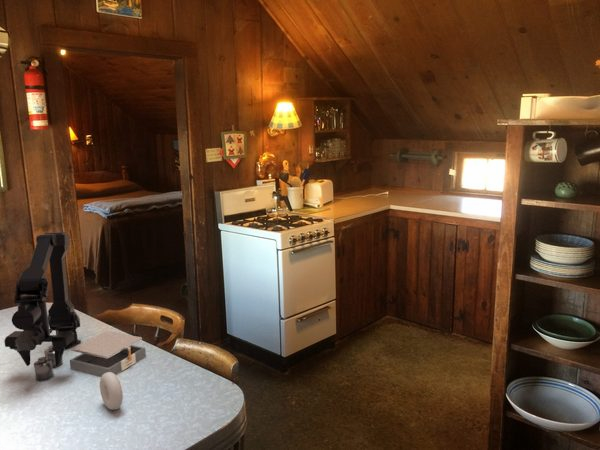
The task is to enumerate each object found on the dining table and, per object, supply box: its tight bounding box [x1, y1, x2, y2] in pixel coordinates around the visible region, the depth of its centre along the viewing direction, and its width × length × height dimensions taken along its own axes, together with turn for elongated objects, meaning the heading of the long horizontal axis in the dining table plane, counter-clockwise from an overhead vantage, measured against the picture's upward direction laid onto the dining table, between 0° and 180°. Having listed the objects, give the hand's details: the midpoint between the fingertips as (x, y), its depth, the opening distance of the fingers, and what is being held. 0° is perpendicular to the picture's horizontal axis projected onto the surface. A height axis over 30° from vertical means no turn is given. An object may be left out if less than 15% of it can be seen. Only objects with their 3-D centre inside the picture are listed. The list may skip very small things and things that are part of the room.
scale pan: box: [70, 330, 143, 360], centre depth 165 cm, size 17×15×4 cm
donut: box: [99, 372, 124, 411], centre depth 139 cm, size 10×4×10 cm, turn 41°
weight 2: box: [44, 345, 64, 370], centre depth 165 cm, size 5×5×6 cm
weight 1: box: [33, 356, 54, 382], centre depth 157 cm, size 5×5×6 cm
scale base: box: [69, 344, 147, 378], centre depth 166 cm, size 16×16×3 cm
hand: (43, 365), depth 157 cm, fingers open, 9 cm apart
